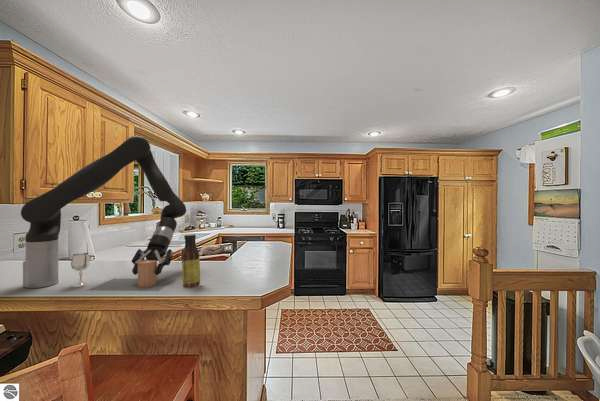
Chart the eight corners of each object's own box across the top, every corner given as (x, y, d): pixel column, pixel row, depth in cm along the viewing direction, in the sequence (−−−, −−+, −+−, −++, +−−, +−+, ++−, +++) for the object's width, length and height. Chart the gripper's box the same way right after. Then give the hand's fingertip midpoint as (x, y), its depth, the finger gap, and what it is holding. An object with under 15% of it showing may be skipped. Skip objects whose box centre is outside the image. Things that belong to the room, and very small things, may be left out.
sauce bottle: (203, 284, 105) (203, 234, 105) (190, 289, 99) (191, 236, 99) (191, 282, 108) (191, 233, 108) (178, 287, 102) (178, 235, 102)
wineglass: (79, 288, 100) (79, 256, 100) (66, 286, 102) (66, 255, 102) (93, 283, 106) (93, 253, 106) (82, 282, 107) (82, 252, 107)
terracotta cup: (133, 286, 100) (133, 263, 100) (144, 281, 107) (144, 259, 107) (150, 287, 100) (150, 263, 100) (160, 281, 107) (160, 259, 107)
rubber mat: (86, 291, 97) (86, 290, 97) (113, 279, 111) (113, 278, 111) (158, 292, 97) (158, 290, 97) (176, 280, 111) (176, 279, 111)
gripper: (140, 233, 111) (122, 268, 100) (175, 234, 111) (160, 268, 100) (148, 244, 116) (131, 278, 105) (180, 244, 116) (167, 278, 105)
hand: (145, 273), depth 102 cm, fingers open, 8 cm apart
